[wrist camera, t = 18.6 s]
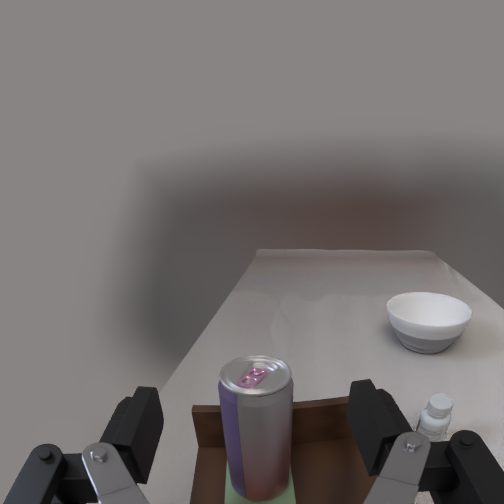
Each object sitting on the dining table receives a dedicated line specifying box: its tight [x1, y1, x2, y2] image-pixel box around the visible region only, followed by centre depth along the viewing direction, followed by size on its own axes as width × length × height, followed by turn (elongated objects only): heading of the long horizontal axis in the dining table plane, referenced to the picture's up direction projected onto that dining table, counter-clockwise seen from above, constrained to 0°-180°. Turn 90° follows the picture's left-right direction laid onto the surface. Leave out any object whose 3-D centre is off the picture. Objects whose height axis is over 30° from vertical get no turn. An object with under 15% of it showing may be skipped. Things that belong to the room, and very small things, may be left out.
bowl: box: [387, 292, 472, 354], centre depth 60 cm, size 20×20×8 cm
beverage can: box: [218, 355, 294, 501], centre depth 25 cm, size 6×6×15 cm
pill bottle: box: [415, 393, 454, 442], centre depth 32 cm, size 4×4×8 cm
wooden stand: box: [190, 396, 378, 504], centre depth 28 cm, size 20×12×10 cm, turn 91°
